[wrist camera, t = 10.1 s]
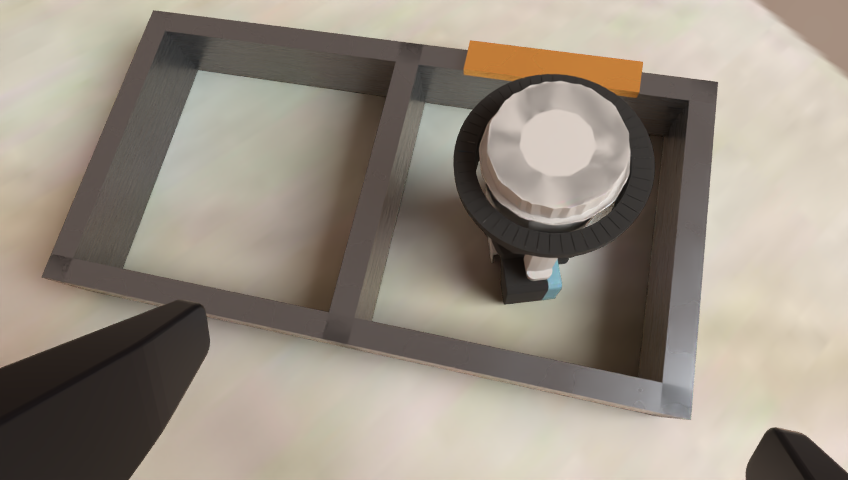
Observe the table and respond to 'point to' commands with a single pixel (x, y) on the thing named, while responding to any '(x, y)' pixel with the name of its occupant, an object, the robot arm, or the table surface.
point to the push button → (551, 175)
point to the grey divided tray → (395, 193)
